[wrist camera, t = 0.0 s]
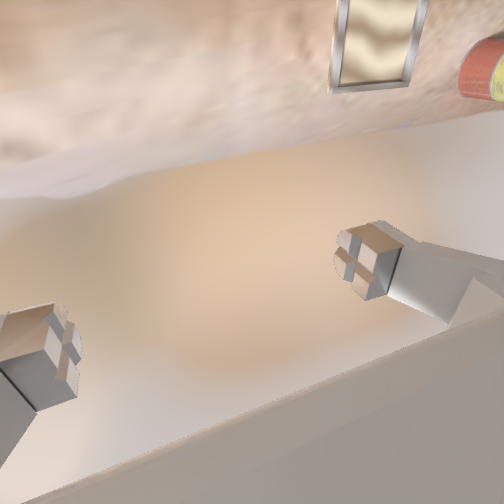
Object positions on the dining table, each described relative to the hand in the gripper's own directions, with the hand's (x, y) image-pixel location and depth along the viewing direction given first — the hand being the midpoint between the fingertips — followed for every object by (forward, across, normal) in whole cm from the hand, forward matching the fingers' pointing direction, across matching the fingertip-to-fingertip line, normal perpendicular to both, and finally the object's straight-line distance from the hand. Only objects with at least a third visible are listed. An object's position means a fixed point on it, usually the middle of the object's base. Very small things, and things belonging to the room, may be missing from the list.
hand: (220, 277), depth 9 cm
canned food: (+48, -74, 0) cm, 88 cm away
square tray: (+48, -44, -7) cm, 65 cm away
